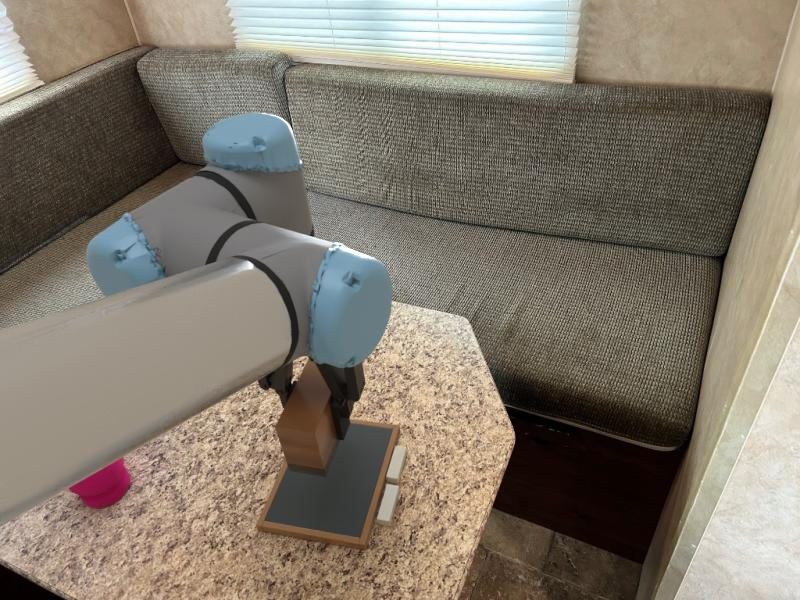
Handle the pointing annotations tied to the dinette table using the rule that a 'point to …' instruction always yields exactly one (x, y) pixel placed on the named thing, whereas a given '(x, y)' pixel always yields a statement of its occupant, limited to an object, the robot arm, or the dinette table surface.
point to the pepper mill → (103, 485)
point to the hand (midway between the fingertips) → (323, 427)
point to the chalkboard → (335, 490)
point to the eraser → (308, 425)
